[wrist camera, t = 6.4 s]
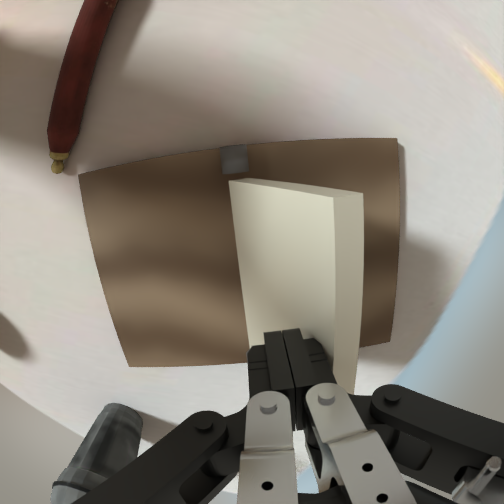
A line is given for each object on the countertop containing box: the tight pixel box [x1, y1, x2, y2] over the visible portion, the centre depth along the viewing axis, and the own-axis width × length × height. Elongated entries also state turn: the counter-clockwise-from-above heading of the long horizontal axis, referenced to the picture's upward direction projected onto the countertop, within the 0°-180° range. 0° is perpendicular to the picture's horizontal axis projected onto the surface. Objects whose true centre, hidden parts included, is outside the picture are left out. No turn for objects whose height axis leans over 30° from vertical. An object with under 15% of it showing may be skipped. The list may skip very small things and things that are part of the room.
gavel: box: [47, 0, 118, 174], centre depth 15 cm, size 21×5×10 cm
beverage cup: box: [51, 403, 143, 504], centre depth 18 cm, size 7×7×20 cm
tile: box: [229, 178, 364, 395], centre depth 15 cm, size 12×10×1 cm
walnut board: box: [78, 138, 400, 367], centre depth 21 cm, size 16×22×3 cm
